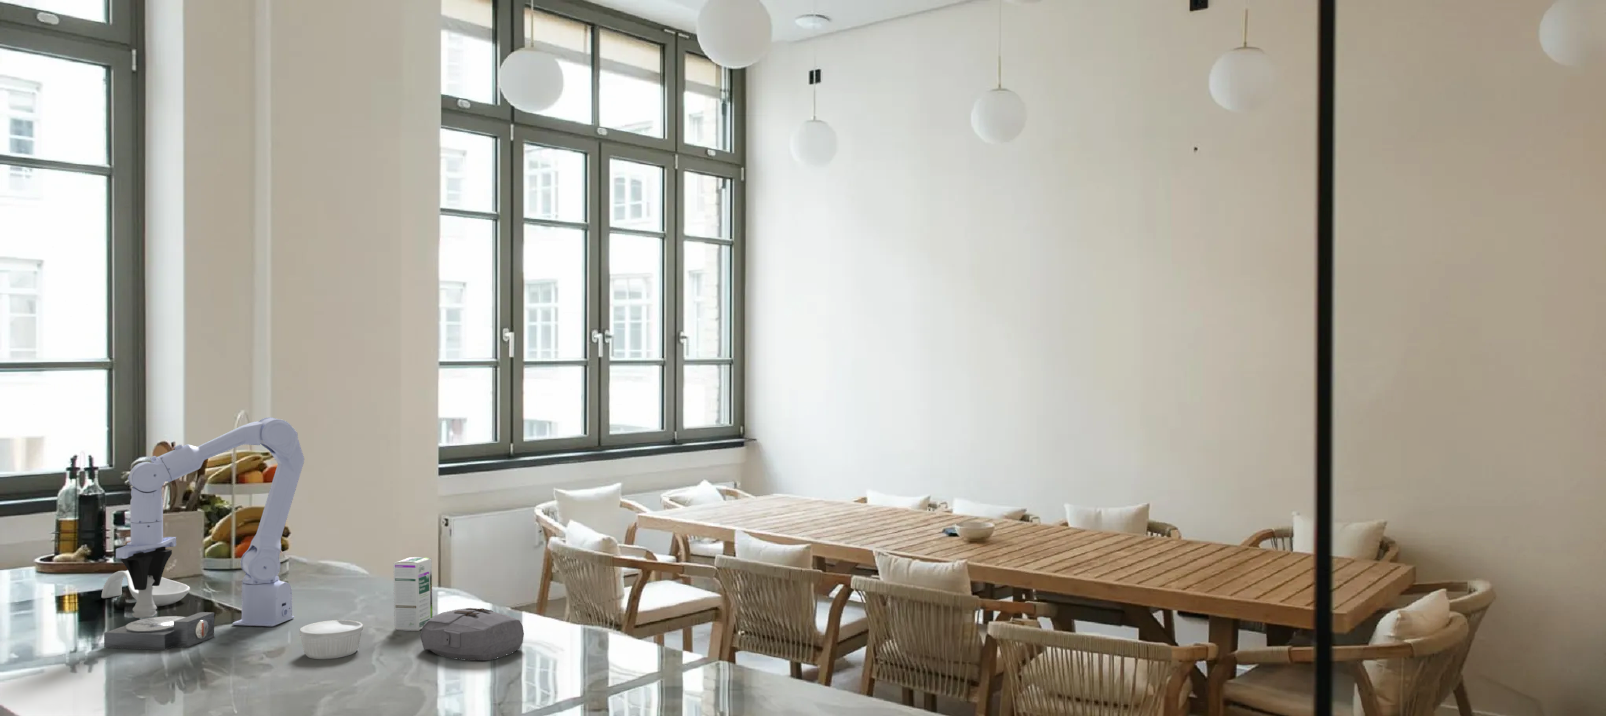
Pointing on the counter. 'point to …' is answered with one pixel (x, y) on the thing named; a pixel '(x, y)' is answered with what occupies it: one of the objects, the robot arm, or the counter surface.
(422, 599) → the syrup box
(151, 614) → the rook chess piece
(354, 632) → the ramekin
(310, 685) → the counter surface
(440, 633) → the grey rounded bag
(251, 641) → the counter surface
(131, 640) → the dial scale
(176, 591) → the spoon rest
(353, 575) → the counter surface
